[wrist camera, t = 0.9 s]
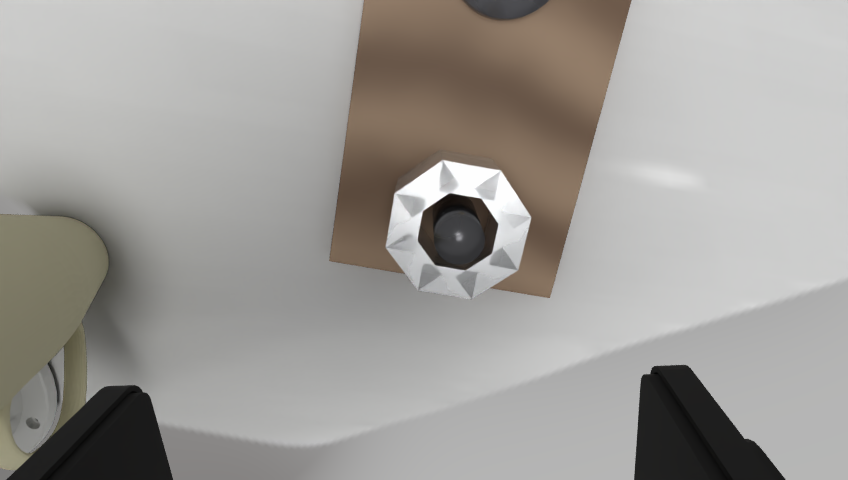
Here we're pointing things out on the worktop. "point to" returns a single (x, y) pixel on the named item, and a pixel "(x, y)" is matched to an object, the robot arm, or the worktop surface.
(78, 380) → the mug
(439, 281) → the white octagonal block
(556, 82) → the base board
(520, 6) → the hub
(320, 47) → the worktop surface
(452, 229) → the stand rod
